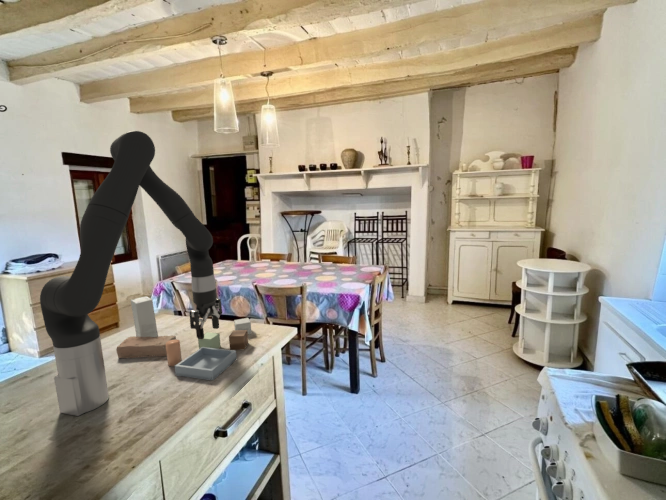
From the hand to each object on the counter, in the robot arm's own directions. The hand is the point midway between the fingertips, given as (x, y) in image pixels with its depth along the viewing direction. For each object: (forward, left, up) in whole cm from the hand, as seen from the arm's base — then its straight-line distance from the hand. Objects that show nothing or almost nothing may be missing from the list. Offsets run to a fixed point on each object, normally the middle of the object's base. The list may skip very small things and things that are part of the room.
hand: (208, 333), depth 113 cm
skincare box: (+3, +31, -6) cm, 31 cm away
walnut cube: (+3, -9, -6) cm, 11 cm away
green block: (-1, 0, -6) cm, 6 cm away
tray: (-12, -7, -6) cm, 15 cm away
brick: (-7, +20, -6) cm, 22 cm away
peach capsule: (-12, +5, -6) cm, 14 cm away
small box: (+14, -4, -6) cm, 16 cm away
